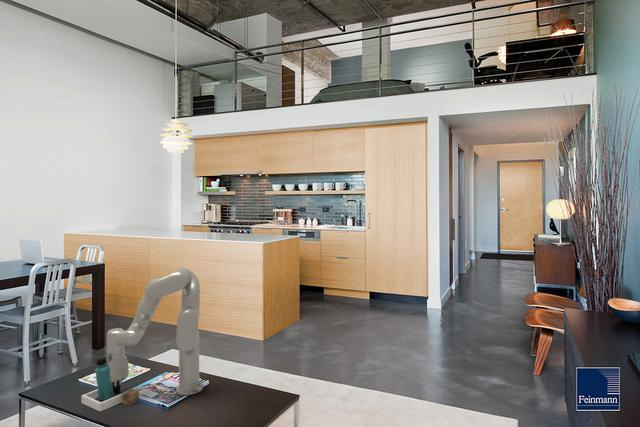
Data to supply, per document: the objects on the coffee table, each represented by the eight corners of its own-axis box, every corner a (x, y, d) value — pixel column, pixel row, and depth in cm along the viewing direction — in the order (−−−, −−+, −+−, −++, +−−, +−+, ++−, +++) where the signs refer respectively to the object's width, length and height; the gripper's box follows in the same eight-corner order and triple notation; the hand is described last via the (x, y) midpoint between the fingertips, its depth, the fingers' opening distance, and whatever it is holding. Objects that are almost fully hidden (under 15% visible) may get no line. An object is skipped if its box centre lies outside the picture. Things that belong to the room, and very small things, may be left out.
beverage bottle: (116, 399, 195) (111, 358, 193) (101, 405, 191) (95, 363, 189) (112, 393, 200) (107, 354, 198) (97, 399, 196) (91, 359, 193)
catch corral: (131, 398, 198) (131, 390, 197) (100, 411, 185) (100, 403, 185) (112, 390, 206) (112, 383, 205) (81, 403, 193) (81, 395, 193)
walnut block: (139, 400, 196) (138, 389, 195) (132, 405, 191) (131, 394, 190) (129, 399, 197) (129, 388, 196) (122, 404, 192) (122, 393, 192)
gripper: (105, 362, 191) (105, 401, 191) (135, 352, 203) (135, 389, 204) (96, 358, 195) (96, 397, 195) (125, 349, 207) (126, 385, 208)
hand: (116, 393), depth 200 cm, fingers closed
